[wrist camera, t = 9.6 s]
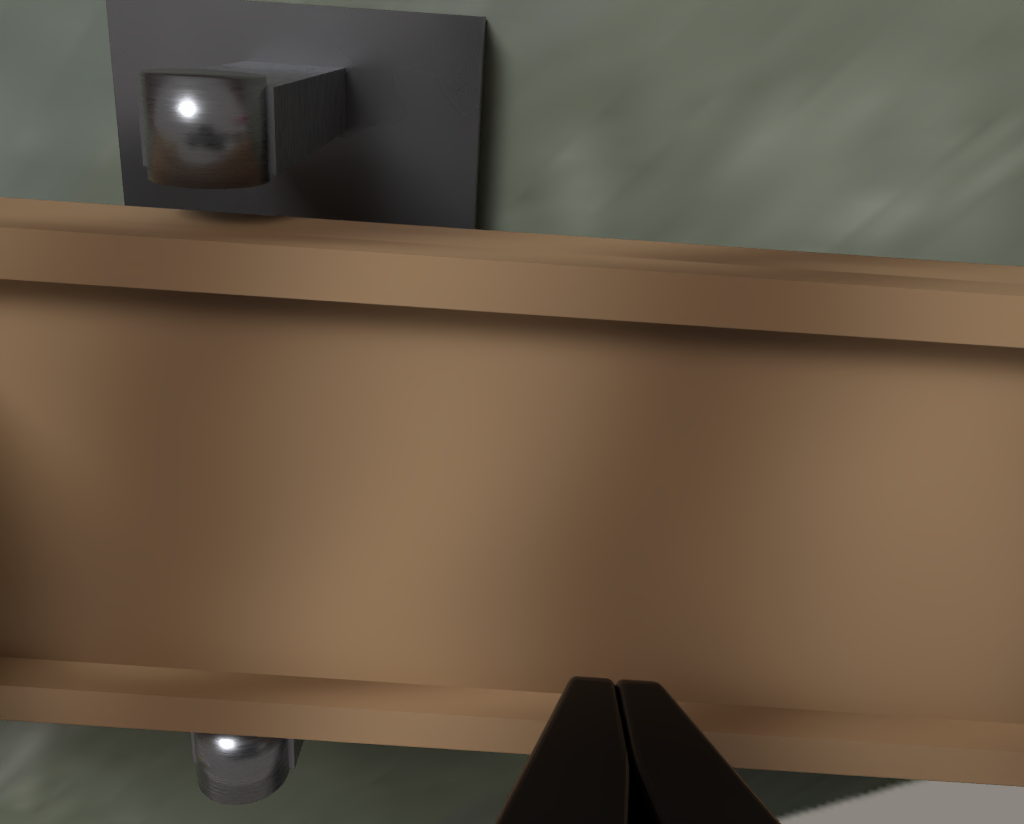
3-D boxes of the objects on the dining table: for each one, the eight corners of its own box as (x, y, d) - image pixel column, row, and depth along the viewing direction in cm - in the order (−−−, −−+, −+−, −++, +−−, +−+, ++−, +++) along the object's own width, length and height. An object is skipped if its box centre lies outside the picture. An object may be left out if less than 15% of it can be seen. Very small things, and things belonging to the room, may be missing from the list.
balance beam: (1393, 291, 12) (1701, 390, 9) (1205, 725, 15) (1391, 922, 12) (-956, 132, 12) (-1503, 173, 9) (-718, 598, 15) (-1069, 761, 12)
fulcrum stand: (486, 17, 16) (462, 17, 10) (456, 620, 20) (427, 855, 15) (124, -9, 16) (-106, -23, 10) (176, 603, 20) (39, 832, 15)
